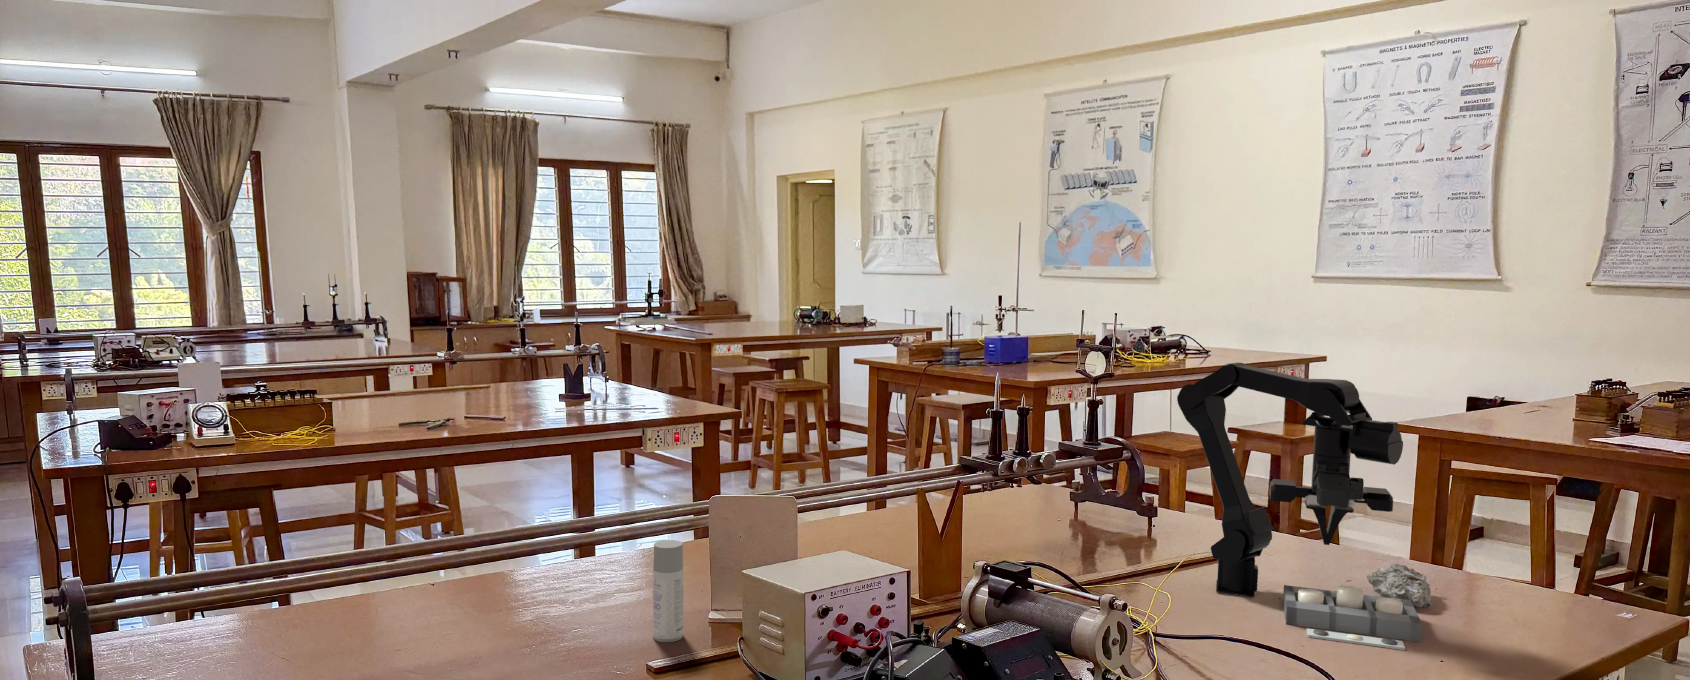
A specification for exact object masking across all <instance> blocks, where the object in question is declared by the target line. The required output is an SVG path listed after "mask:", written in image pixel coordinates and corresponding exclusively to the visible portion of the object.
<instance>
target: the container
mask: <svg viewBox="0 0 1690 680" xmlns="http://www.w3.org/2000/svg"><path fill="white" fill-rule="evenodd" d="M683 548H684V547H683V542H682V541H680V540H675V539H666V540H665V539H663V540H659V541H655V542H654V543H653V562H652V563H653V566H652V569H653V570H652V571H653V573H652V595H653V596H652V611H653V612H652V618H653V619H652V623H653V624H652V625H653V626H652V632H653V633H652V638H653V640H654V641H656V642H659V643H674V642H677V641H680V640H682V639H683V637H684V550H683Z"/></svg>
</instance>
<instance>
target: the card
mask: <svg viewBox="0 0 1690 680" xmlns="http://www.w3.org/2000/svg"><path fill="white" fill-rule="evenodd" d="M1306 636H1307V638H1313V639H1318V640H1319V639H1320V640H1327V641H1335V642H1342V643H1347V644H1348V643H1349V644H1357V645H1363V646H1372V647H1380V648H1387V649H1394V650H1400V651H1406V647H1405V644H1404V642H1403V641H1402V640H1399V639H1393V638H1384V637H1382V638H1381V637H1376V636H1369V635H1368V636H1367V635H1361V634H1359V635H1358V634H1356V633H1346V632H1339V631H1331V630H1325V629H1316V628H1306Z"/></svg>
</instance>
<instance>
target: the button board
mask: <svg viewBox="0 0 1690 680" xmlns="http://www.w3.org/2000/svg"><path fill="white" fill-rule="evenodd" d="M1300 589H1313V590H1317V591H1320V592H1322V593H1323V594H1324V601H1323V605H1322V604H1314V603H1306V602H1298V590H1300ZM1282 592H1283V593H1282V604H1283V613H1284V619H1285V625H1291V626H1299V627H1306V628H1311V629H1319V630H1326V631H1334V632H1342V633H1349V634H1357V635H1358V634H1359V635H1364V636H1367V635H1368V636H1372V637H1379V638H1381V637H1382V638H1387V639H1395V640H1404V641H1411V642H1419V643H1421V642H1422V632H1423V622H1422V621H1421V619H1420V616H1419V615H1418V613H1417V610H1416V609H1415V607H1414V606H1413V605H1412V603H1411V601H1410V600H1404V599H1396V598H1389V599H1394V600H1397V601H1400V602H1402V603H1403V612H1402V614H1394V613H1386V612H1378V611H1375V608H1376V599H1378V598H1388V597H1385V596H1379V595H1370V594H1363V607H1362V609H1354V608H1346V607H1338V606H1336V599H1337V590H1328V589H1319V588H1311V587H1304V586H1303V587H1302V586H1296V585H1289V584H1288V585H1286V584H1284V585H1283V591H1282Z"/></svg>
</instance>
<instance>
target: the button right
mask: <svg viewBox="0 0 1690 680" xmlns="http://www.w3.org/2000/svg"><path fill="white" fill-rule="evenodd" d="M1375 611H1378V612H1386V613H1394V614H1402V612H1403V603H1402V602H1400V601H1397V600H1394V599H1389V598H1378V599H1376V608H1375Z"/></svg>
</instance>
